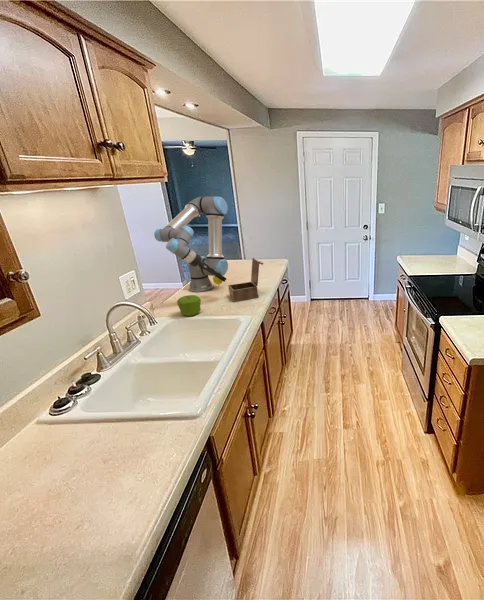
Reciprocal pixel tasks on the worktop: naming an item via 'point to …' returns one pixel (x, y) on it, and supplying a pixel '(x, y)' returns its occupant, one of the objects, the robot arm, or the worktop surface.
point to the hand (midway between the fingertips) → (222, 278)
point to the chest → (243, 291)
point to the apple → (189, 305)
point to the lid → (255, 271)
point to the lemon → (217, 280)
